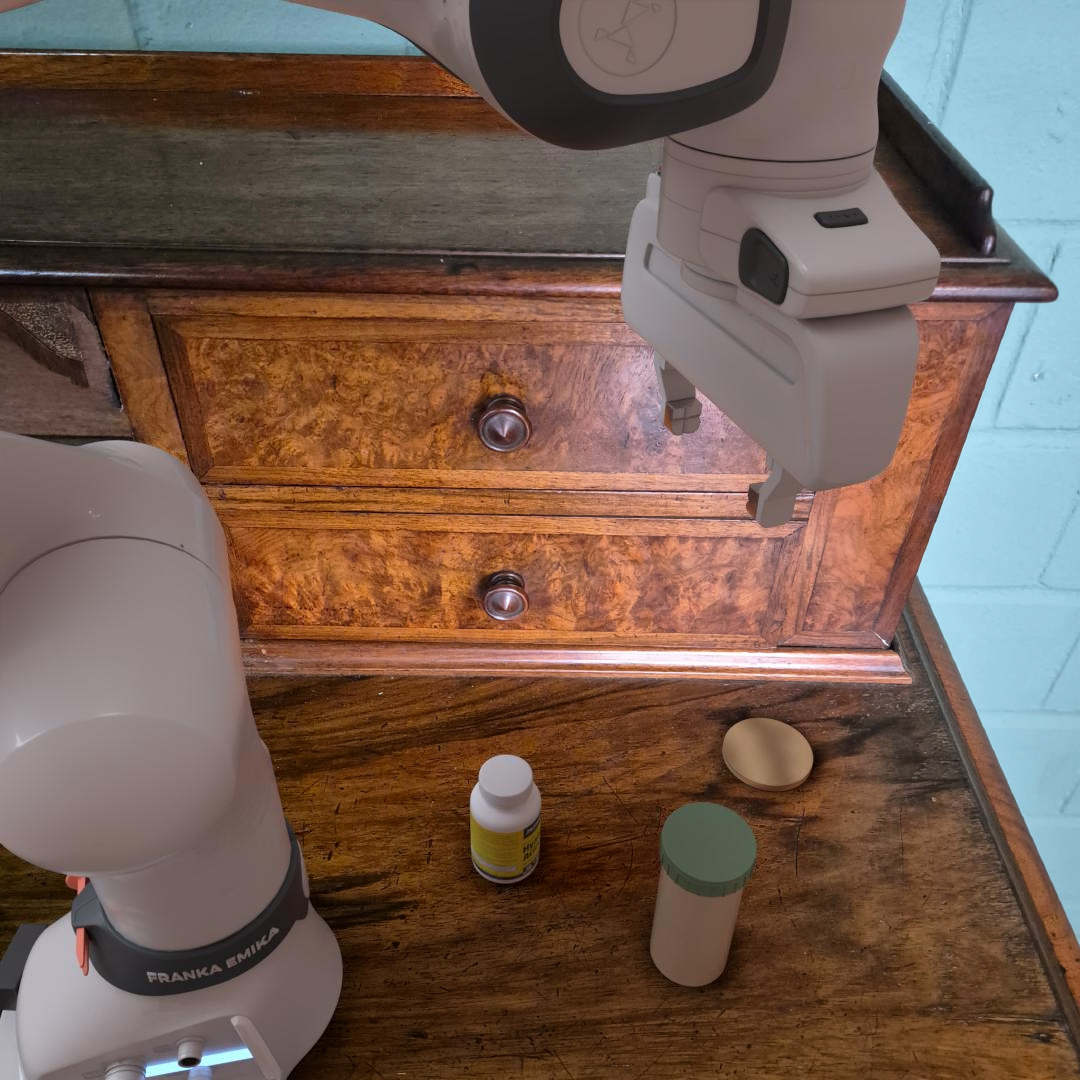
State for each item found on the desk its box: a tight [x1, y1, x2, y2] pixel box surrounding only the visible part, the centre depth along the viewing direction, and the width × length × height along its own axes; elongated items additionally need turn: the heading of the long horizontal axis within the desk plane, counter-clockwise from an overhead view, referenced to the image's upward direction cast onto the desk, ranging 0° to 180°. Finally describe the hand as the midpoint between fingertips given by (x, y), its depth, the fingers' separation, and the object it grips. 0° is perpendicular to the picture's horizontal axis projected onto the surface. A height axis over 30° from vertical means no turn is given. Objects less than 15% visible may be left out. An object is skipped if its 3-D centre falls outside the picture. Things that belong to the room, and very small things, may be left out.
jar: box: [649, 864, 745, 988], centre depth 65 cm, size 6×6×12 cm
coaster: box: [721, 717, 814, 792], centre depth 84 cm, size 8×8×1 cm
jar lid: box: [658, 801, 758, 898], centre depth 62 cm, size 6×6×2 cm
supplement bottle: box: [469, 754, 542, 884], centre depth 72 cm, size 5×5×10 cm
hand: (720, 470), depth 50 cm, fingers open, 8 cm apart
